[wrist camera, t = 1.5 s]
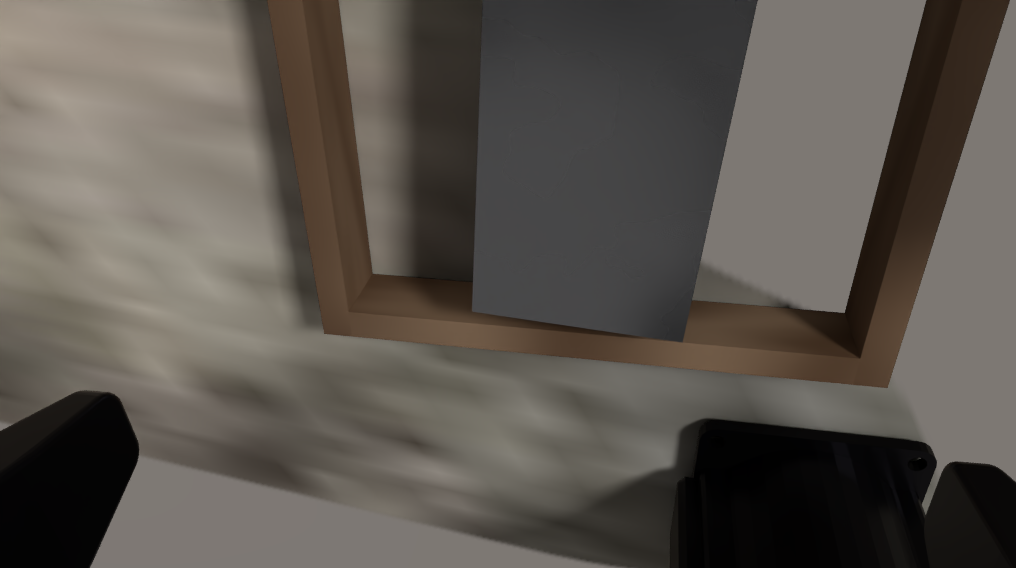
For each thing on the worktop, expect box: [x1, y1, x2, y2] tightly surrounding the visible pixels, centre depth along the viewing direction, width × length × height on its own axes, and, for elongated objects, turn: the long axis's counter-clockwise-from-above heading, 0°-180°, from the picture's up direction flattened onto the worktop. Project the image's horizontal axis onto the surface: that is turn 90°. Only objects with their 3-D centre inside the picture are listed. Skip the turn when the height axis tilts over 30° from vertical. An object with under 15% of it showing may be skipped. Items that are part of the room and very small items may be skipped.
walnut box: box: [267, 0, 1010, 388], centre depth 18 cm, size 15×13×2 cm
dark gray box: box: [472, 0, 758, 343], centre depth 17 cm, size 5×9×4 cm, turn 177°
